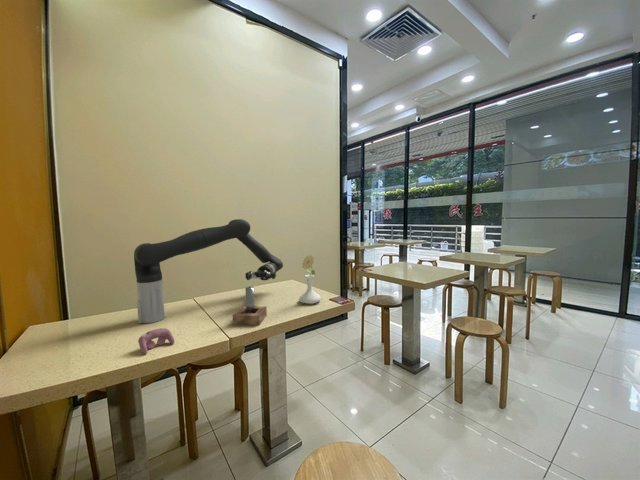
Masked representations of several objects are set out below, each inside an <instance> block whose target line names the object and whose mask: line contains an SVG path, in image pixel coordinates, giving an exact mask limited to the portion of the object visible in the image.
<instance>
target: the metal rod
mask: <svg viewBox="0 0 640 480" xmlns="http://www.w3.org/2000/svg"><path fill="white" fill-rule="evenodd" d="M245 306H246V313H255V308H254V306H255V287H254V286H245Z"/></svg>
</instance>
